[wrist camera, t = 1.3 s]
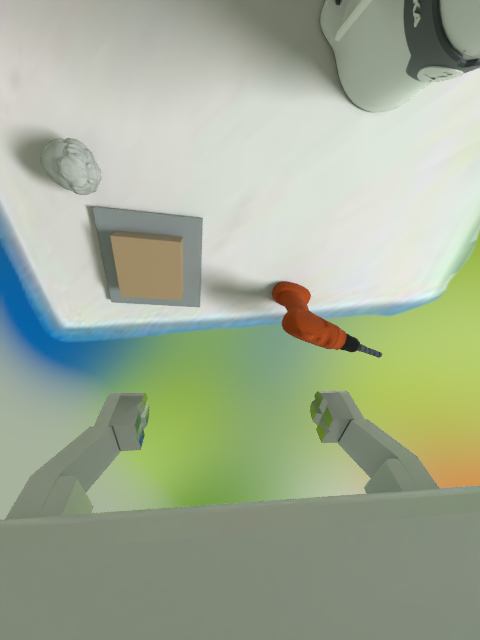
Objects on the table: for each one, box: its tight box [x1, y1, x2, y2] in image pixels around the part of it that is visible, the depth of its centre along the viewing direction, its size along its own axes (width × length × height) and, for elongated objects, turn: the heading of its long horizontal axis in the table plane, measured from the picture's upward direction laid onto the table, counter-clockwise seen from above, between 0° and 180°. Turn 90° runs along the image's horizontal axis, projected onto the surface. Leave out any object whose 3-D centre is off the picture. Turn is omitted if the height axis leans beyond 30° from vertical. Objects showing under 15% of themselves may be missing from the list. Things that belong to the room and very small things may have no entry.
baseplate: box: [92, 206, 203, 307], centre depth 40 cm, size 16×16×4 cm
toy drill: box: [272, 282, 382, 357], centre depth 42 cm, size 5×19×15 cm, turn 68°
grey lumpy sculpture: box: [40, 138, 101, 195], centre depth 30 cm, size 6×7×7 cm
